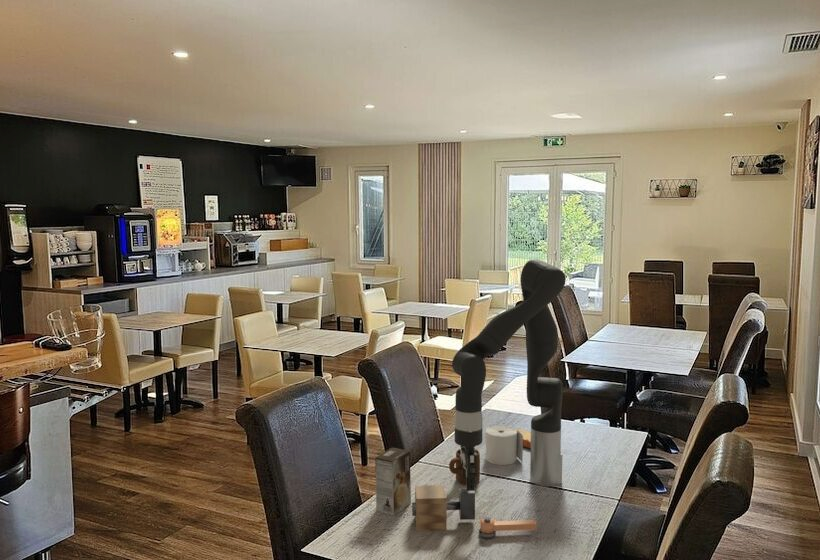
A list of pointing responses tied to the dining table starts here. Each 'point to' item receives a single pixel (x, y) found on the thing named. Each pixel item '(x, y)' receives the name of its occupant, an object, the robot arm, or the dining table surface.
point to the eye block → (431, 507)
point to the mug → (458, 468)
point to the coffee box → (393, 481)
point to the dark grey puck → (487, 535)
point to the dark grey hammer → (460, 505)
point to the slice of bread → (526, 438)
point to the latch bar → (506, 525)
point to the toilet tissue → (503, 445)
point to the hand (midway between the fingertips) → (468, 483)
